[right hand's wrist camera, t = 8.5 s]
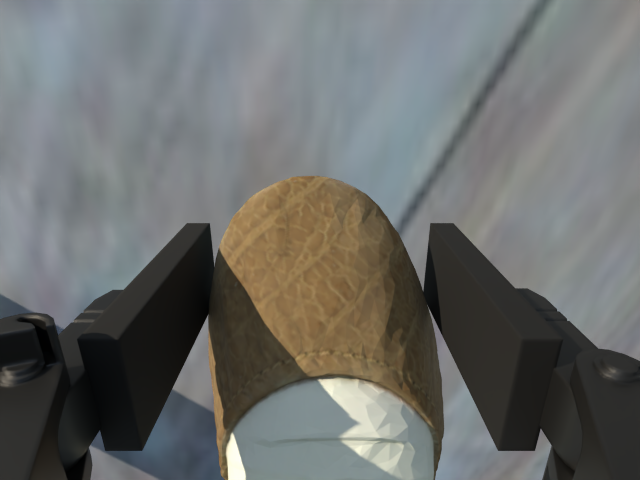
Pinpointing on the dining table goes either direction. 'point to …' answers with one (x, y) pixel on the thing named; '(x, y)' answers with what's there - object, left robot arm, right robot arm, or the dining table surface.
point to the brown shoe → (321, 342)
